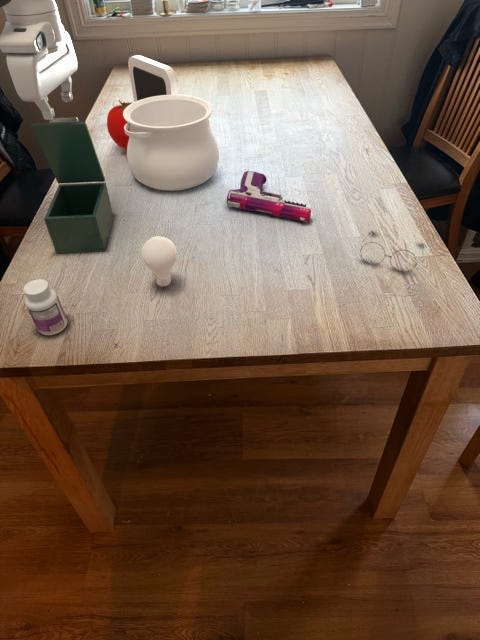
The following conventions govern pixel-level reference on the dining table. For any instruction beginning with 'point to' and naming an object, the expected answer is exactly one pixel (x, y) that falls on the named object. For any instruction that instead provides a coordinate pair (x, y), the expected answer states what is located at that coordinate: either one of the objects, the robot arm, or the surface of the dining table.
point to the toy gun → (264, 199)
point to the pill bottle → (44, 307)
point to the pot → (171, 141)
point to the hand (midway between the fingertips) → (59, 109)
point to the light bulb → (160, 258)
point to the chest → (79, 218)
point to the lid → (69, 150)
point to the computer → (151, 78)
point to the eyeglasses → (386, 255)
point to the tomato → (118, 125)
